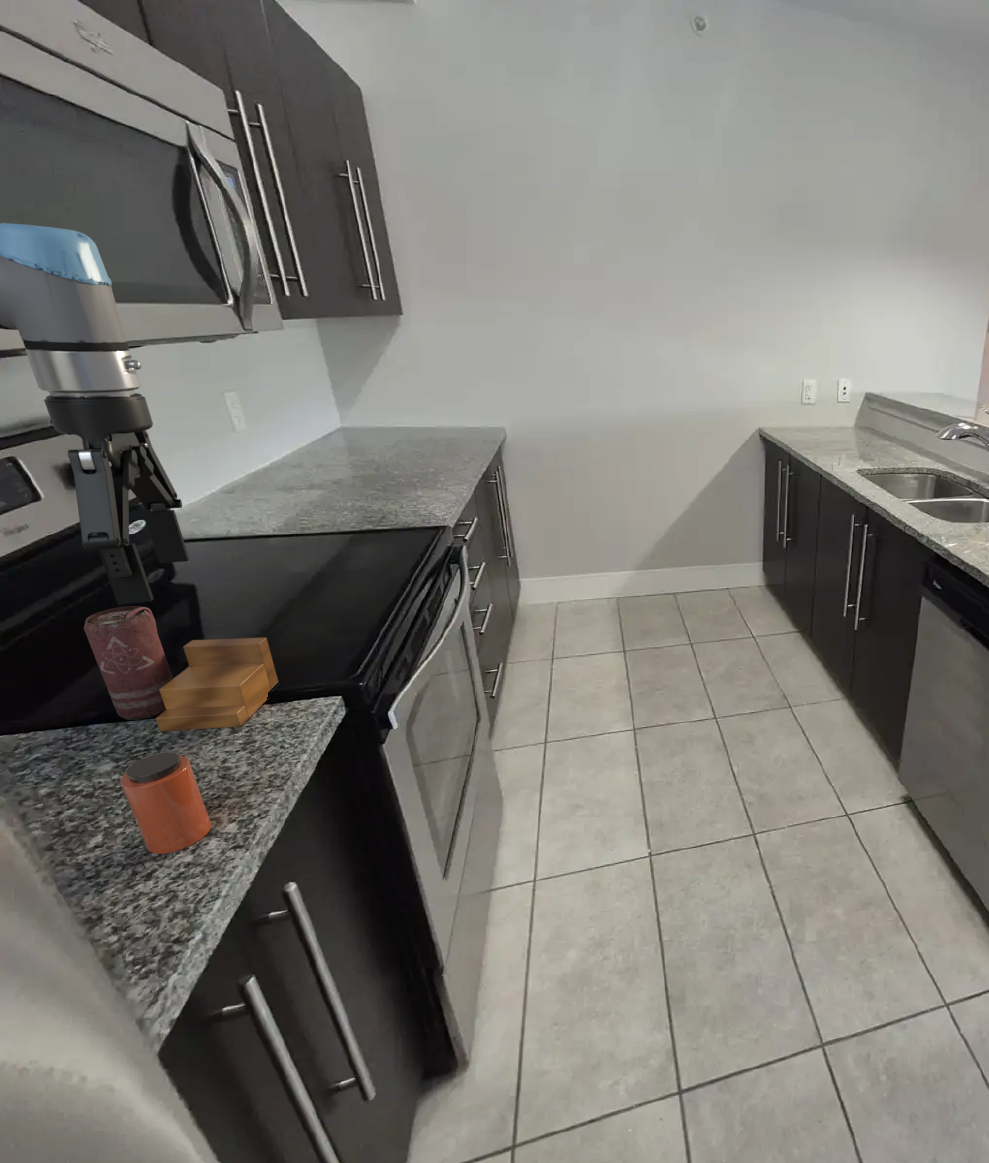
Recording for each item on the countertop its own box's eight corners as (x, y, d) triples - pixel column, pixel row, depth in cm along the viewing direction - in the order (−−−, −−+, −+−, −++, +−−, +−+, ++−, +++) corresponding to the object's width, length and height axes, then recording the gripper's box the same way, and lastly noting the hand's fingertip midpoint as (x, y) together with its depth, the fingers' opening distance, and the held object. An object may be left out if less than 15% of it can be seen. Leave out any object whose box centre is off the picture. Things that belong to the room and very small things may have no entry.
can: (193, 700, 88) (162, 608, 83) (137, 725, 82) (100, 628, 77) (164, 691, 90) (131, 600, 84) (107, 714, 84) (69, 618, 79)
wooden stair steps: (160, 731, 81) (140, 677, 78) (208, 690, 90) (192, 640, 88) (240, 726, 83) (224, 673, 80) (280, 686, 92) (266, 637, 89)
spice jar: (134, 856, 63) (103, 783, 60) (168, 820, 68) (141, 750, 64) (192, 851, 64) (165, 778, 61) (222, 816, 69) (198, 746, 65)
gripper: (94, 407, 59) (164, 617, 66) (177, 382, 79) (223, 544, 87) (-24, 408, 55) (65, 628, 63) (94, 381, 76) (150, 550, 83)
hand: (157, 580), depth 75 cm, fingers open, 13 cm apart
